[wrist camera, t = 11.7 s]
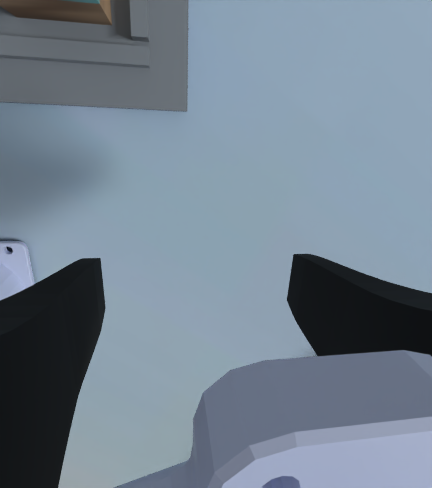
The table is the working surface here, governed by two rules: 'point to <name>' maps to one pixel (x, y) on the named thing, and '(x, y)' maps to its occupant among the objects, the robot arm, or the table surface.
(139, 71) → the plate
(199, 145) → the table surface
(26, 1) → the block stack
